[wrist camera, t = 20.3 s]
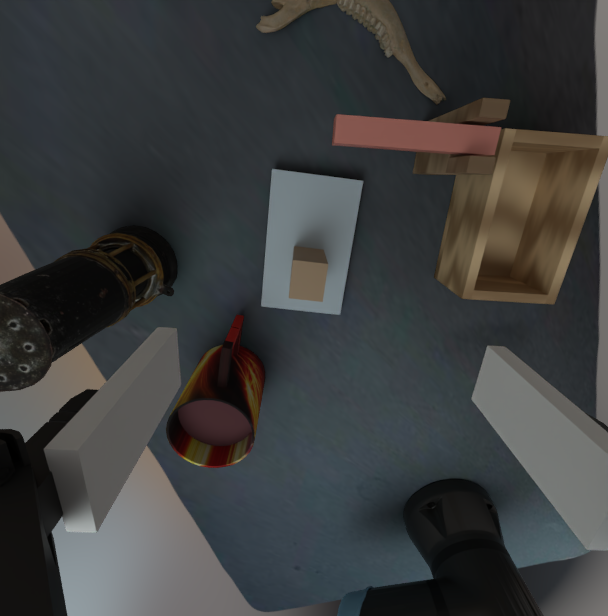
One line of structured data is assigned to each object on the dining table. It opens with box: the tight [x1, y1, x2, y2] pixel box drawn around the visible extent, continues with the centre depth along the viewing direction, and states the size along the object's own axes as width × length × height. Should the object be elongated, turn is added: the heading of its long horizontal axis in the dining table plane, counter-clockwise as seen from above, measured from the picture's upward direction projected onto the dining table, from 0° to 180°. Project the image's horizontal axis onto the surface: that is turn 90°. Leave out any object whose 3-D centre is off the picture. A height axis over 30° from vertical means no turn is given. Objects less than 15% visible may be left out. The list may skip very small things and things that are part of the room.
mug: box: [166, 315, 265, 468], centre depth 42 cm, size 10×14×12 cm
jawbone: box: [256, 0, 446, 105], centre depth 33 cm, size 9×20×2 cm, turn 72°
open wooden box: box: [434, 128, 608, 304], centre depth 36 cm, size 16×10×8 cm, turn 176°
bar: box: [332, 114, 501, 156], centre depth 27 cm, size 2×13×2 cm, turn 86°
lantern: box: [0, 226, 177, 392], centre depth 28 cm, size 9×9×30 cm
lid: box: [261, 169, 363, 315], centre depth 37 cm, size 16×10×9 cm, turn 173°
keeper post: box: [413, 98, 510, 175], centre depth 31 cm, size 5×2×13 cm, turn 176°
